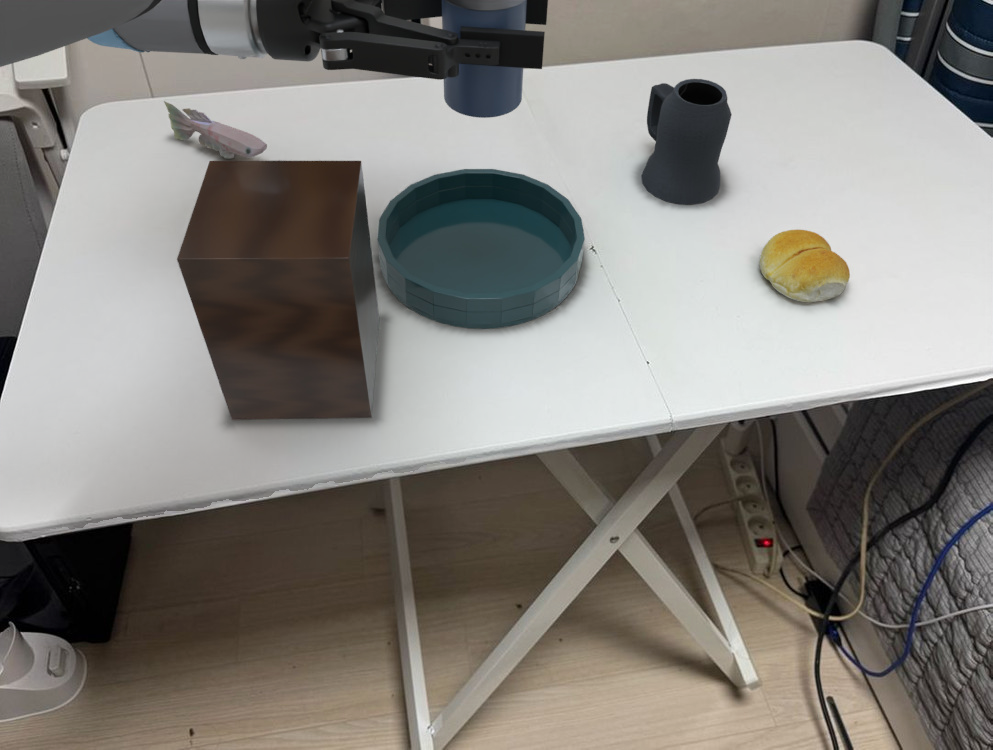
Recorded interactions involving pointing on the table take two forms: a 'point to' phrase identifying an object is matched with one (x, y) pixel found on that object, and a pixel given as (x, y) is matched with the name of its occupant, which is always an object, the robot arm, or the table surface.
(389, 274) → the round teal tray
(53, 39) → the robot arm
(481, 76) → the tin
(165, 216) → the table surface
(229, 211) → the brown wooden block
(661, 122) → the mug
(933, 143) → the table surface
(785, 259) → the bread roll
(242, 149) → the fish
